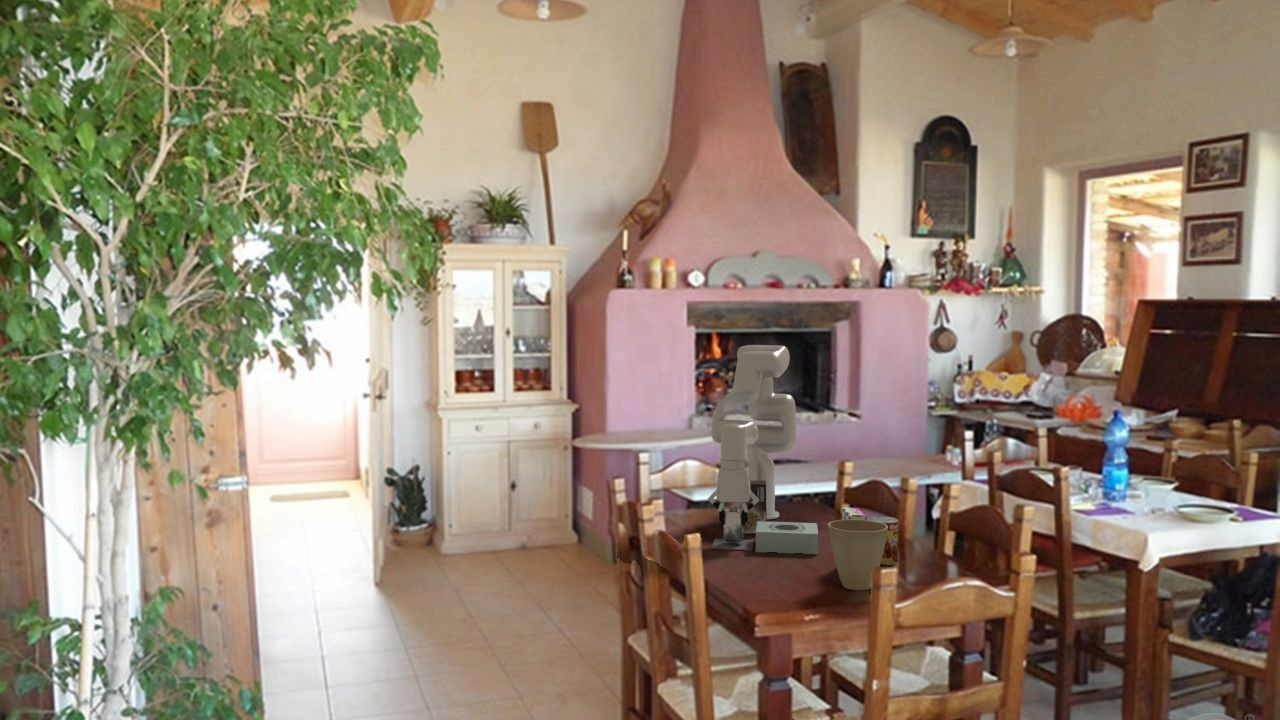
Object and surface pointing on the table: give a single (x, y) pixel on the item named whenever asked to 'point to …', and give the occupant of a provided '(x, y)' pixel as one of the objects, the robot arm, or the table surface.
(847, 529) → the plant pot
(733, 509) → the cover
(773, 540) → the block
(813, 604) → the table surface
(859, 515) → the candy bar box
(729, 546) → the mat
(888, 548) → the canned food
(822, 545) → the table surface
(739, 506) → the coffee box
